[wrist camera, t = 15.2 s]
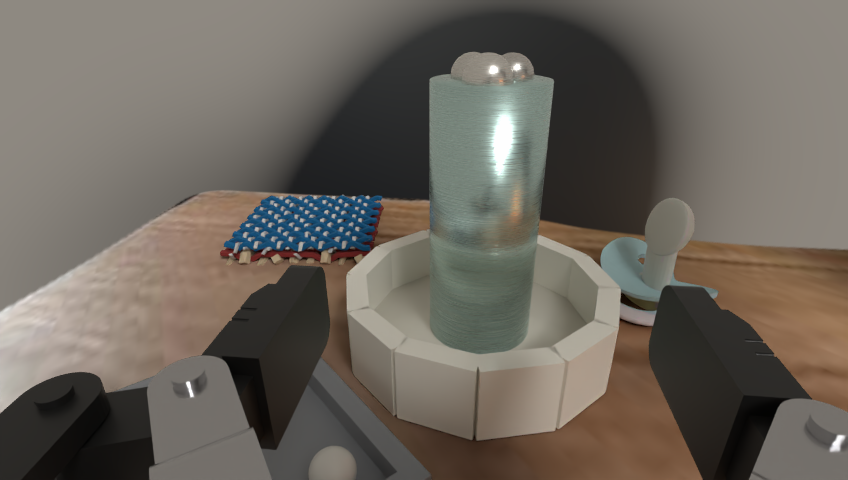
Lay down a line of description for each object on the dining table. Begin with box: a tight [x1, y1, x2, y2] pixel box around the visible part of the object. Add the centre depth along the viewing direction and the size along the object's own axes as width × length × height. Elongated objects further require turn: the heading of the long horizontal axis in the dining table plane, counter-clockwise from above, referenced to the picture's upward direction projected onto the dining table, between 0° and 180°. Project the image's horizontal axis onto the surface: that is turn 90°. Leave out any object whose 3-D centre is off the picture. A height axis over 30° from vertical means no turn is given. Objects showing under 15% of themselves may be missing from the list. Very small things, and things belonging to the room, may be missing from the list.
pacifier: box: [601, 198, 718, 326], centre depth 28 cm, size 7×6×6 cm
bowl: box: [346, 229, 621, 441], centre depth 25 cm, size 13×13×4 cm
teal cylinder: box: [430, 52, 554, 354], centre depth 22 cm, size 5×5×13 cm
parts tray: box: [114, 357, 431, 480], centre depth 17 cm, size 12×11×3 cm
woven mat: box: [220, 195, 384, 265], centre depth 37 cm, size 10×11×2 cm
